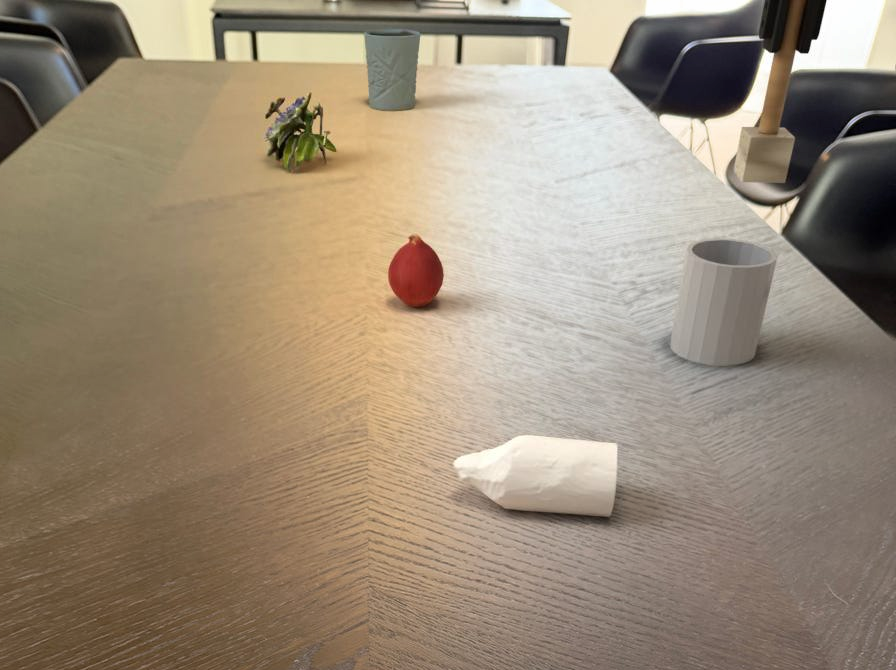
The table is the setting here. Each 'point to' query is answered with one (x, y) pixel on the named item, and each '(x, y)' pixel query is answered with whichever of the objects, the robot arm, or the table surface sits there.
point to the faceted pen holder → (722, 301)
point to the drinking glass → (392, 68)
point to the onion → (416, 273)
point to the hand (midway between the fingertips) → (785, 48)
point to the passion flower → (287, 142)
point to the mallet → (772, 115)
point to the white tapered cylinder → (546, 475)
